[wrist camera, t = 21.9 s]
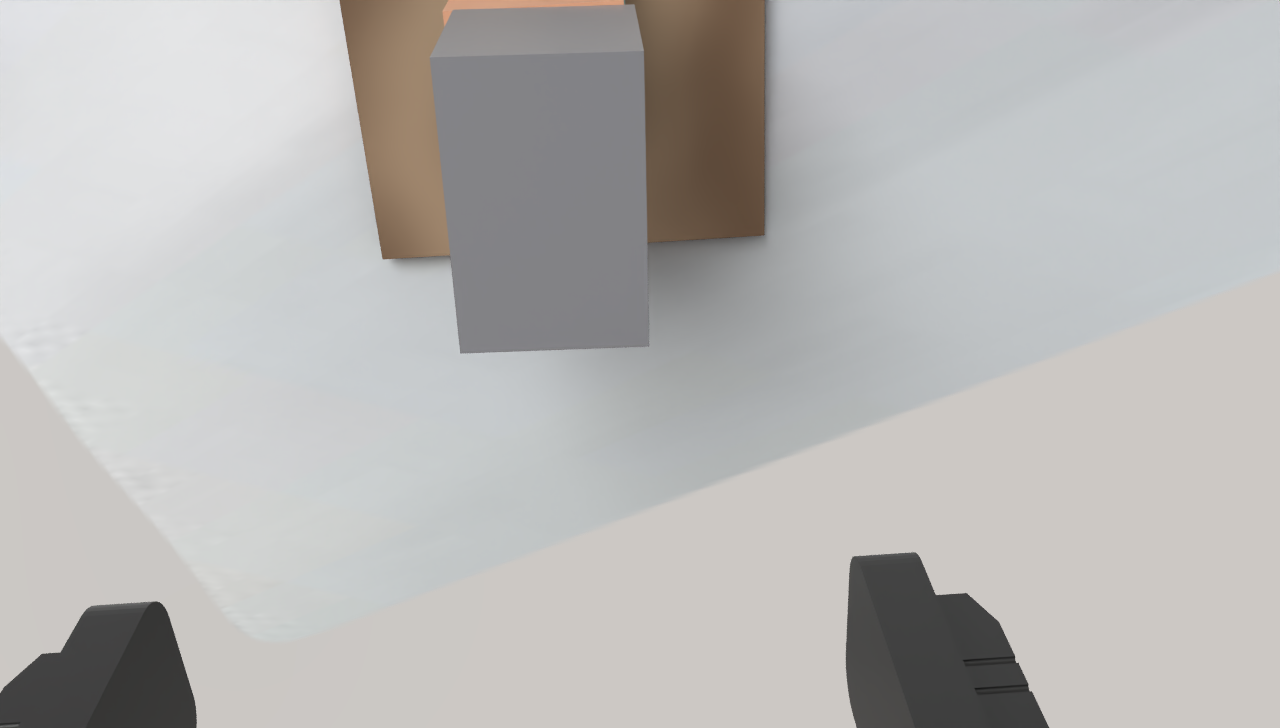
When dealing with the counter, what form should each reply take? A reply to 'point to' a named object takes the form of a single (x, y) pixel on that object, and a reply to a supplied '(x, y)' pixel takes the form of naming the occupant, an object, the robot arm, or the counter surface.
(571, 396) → the counter surface
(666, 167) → the plate
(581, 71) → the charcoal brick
